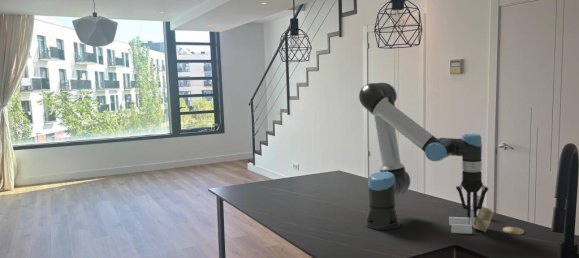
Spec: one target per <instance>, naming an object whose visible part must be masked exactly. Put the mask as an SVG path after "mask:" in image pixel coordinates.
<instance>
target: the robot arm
mask: <svg viewBox="0 0 579 258" xmlns="http://www.w3.org/2000/svg"><path fill="white" fill-rule="evenodd" d="M397 97H398V95H397V90H396V89H395V87H394V86H393V85H391V84H390V83H387V82H374V83H372V82H370V83H367V84H365V85H364V86H363V87H362V88H361V89H360V91H359V96H358V99H359V102H360V104H361V105H362V106H363V107H364V109H366V110H367V111H368V112H370V114H371V115H373V116H374V123H375V128H376V134H377V141H378V147H379V153H380V154H379V155H380V158H381V166H380V168H379V171H378V172H372V173H371V174H370V175H369V177H368V184H367V185H368V211H367V214H366V218H365V226H366V227H368V228H370V229H372V230H378V231H379V230H380V231H390V230H395V229H397V228H399V227H400V218H399V215H398V213H397V209H396V198H397V197H399V196H401V195H403V194H404V193H406V192H407V191H408V190H409V188H410V185H411V177H410V175H409V173H408V172H407V171H406V168H405V165H404V163H403V164H402V162H401V157H400V151H399V145H398V139H397V133H396V132H398V133H400V134H401V135H402V136H404V137H405V138H406V139H408V140H409V141H410V142H411V143H413V144H414V145H415V146H416V147H418V148H419V150H421V151H423V152H424V155H425V156H426V158H427V159H428V160H429V161H432V162H438V161H442V160H443V159H445V158H447V157H450V156H453V157H454V156H455V157H462V162H461V165H462V167H461V169H462V173H461V175H462V177H461V179H462V180H461V182H460V184H458V185H455V189H456V190H457V192H458V195H459V199H460V201H461V206H462V209H464V210H466V216H467V218H469V225H472V227H473V226H474V218H476V217H477V210H478V209H481V208H482V206H483V204H484V201H485V198H486V194H487V192H488V191H489V188H488V186H485V185H484V183H483V182H482V179H483V177H482V154H483V153H482V147H483V144H482V136H481V135H480V134H478V133H464V134H463V135H462V136H461V138H453V137H435V136H434V134H432V133H431V132H429V131H428V130H427V129H425V128H424V127H422V126H421V125H420V124H419V123H417V122H416V121H415V120H413V119H412V118H410V117H409V116H408V115H407V114H406V113H404V112H403V111H401V110H400V109H399V108H397V107H396V106H395V103H396V101H397V99H398V98H397ZM463 190H465V192H466V202H465V198H464V196H463V195H464V194H463ZM480 190H481V193H480V195H479V196H480V198H479V203H478V206H477V195H478V192H479V191H480ZM471 194H472V195H471ZM472 196H473V197H472ZM471 197H472V201H473V209H471V205H472V202H471Z"/></svg>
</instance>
